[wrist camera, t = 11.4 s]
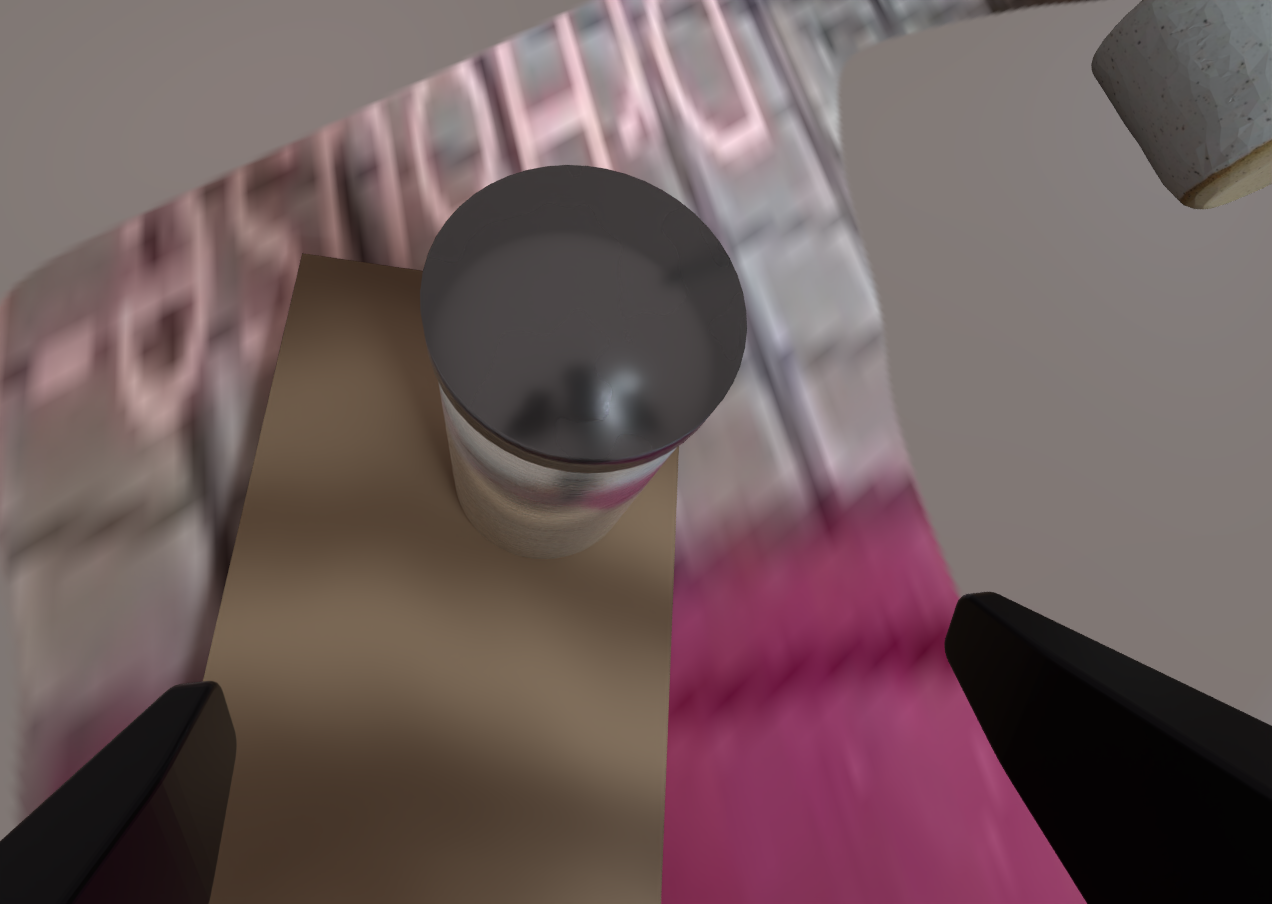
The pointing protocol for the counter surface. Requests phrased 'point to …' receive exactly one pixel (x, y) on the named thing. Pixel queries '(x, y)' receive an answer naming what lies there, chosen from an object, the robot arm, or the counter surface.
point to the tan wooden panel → (427, 649)
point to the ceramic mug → (1195, 93)
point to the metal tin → (573, 348)
